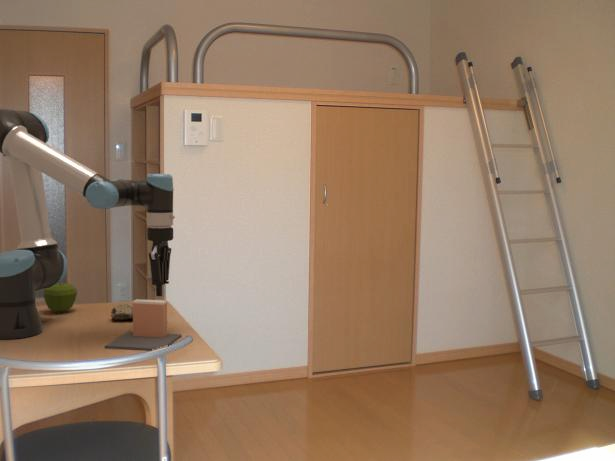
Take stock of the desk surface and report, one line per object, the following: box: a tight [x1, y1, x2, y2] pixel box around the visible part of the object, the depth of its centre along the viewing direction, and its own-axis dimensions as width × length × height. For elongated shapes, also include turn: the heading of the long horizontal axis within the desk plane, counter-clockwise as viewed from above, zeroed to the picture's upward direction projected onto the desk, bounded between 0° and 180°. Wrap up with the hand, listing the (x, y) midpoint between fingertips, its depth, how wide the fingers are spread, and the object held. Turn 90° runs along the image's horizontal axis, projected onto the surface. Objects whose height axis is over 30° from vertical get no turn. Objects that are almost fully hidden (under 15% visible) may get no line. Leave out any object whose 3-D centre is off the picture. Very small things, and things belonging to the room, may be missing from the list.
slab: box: [132, 298, 168, 338], centre depth 197 cm, size 9×3×10 cm, turn 82°
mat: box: [104, 331, 182, 351], centre depth 193 cm, size 16×16×1 cm
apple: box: [42, 281, 78, 314], centre depth 229 cm, size 11×10×10 cm
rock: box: [110, 303, 133, 322], centre depth 221 cm, size 11×11×4 cm
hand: (160, 306), depth 205 cm, fingers closed
